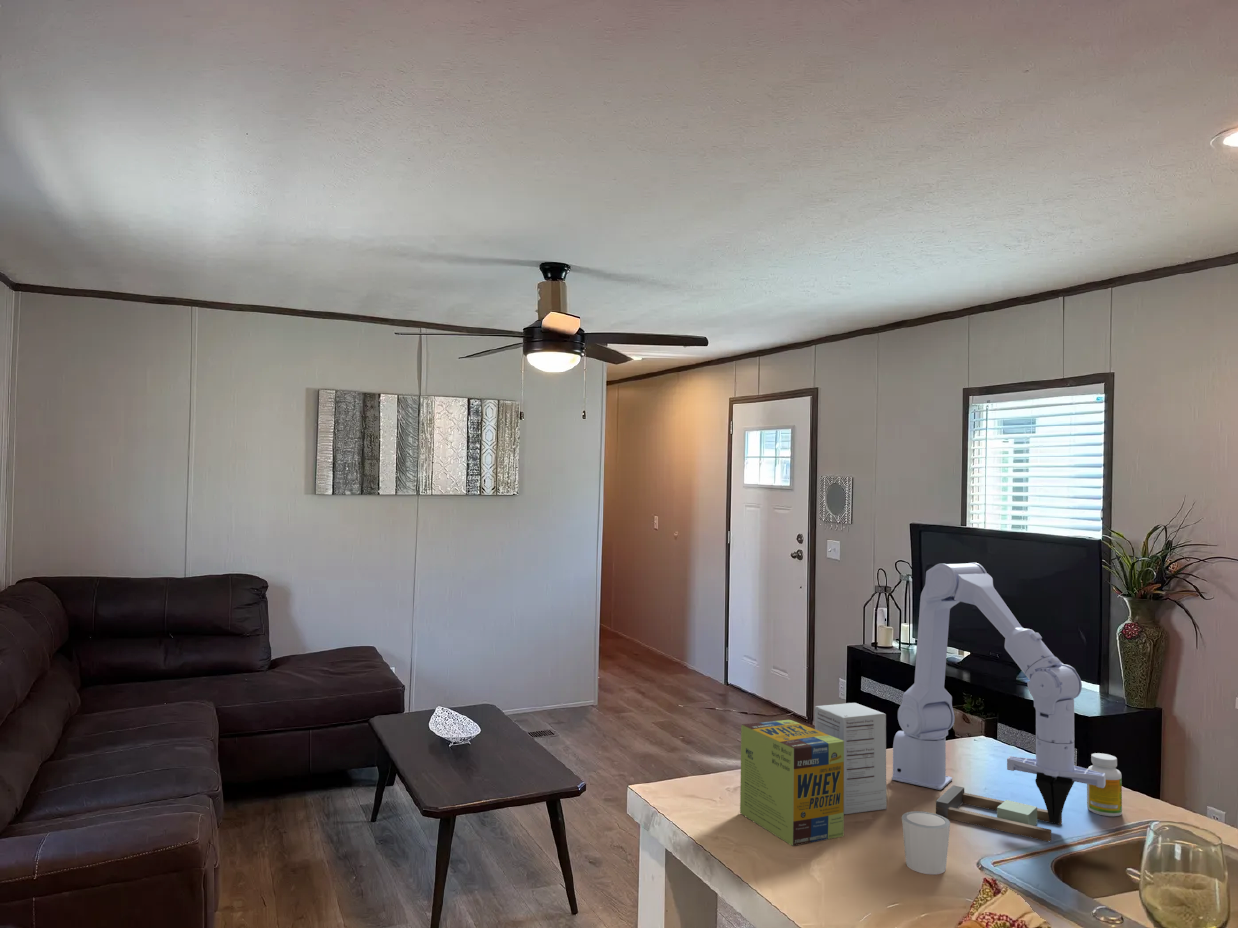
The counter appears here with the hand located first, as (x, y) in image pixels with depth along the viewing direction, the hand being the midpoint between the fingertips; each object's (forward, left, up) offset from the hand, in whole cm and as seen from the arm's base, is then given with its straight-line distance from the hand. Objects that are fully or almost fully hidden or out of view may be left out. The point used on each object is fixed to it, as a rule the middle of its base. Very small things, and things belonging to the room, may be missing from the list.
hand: (1055, 821), depth 141 cm
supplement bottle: (+5, +16, -2) cm, 17 cm away
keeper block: (-6, 0, -2) cm, 6 cm away
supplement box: (-32, -9, -2) cm, 33 cm away
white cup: (-13, -27, -2) cm, 30 cm away
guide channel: (-9, 0, -2) cm, 9 cm away
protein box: (-36, -25, -2) cm, 44 cm away
